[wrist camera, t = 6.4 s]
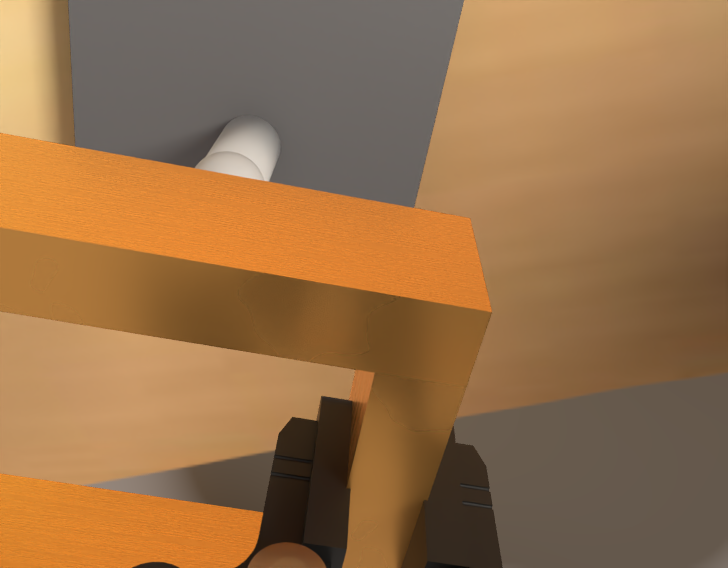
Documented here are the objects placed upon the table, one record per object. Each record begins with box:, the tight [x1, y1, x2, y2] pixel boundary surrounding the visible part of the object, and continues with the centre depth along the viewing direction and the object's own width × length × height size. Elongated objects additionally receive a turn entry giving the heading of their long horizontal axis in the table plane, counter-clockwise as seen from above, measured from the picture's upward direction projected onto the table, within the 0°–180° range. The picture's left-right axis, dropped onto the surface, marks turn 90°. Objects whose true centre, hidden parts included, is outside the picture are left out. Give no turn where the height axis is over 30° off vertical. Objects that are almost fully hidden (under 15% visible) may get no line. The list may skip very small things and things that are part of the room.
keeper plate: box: [68, 0, 464, 208], centre depth 24 cm, size 14×18×7 cm
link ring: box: [0, 133, 492, 568], centre depth 13 cm, size 12×10×3 cm
